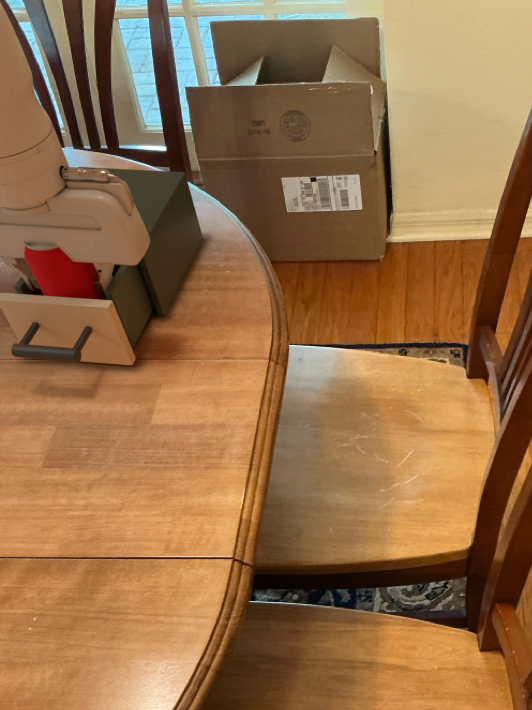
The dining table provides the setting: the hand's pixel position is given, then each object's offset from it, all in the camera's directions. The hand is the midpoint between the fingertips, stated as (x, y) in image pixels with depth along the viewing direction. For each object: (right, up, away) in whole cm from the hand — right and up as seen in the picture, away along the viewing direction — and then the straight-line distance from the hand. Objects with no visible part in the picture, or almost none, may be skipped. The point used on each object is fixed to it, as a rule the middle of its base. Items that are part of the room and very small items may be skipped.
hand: (73, 289), depth 83 cm
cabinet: (+2, +6, +13) cm, 14 cm away
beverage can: (0, -3, +4) cm, 5 cm away
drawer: (0, -3, +5) cm, 6 cm away
